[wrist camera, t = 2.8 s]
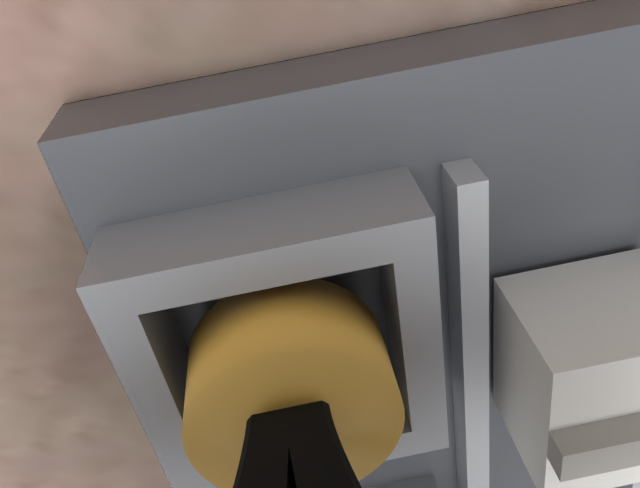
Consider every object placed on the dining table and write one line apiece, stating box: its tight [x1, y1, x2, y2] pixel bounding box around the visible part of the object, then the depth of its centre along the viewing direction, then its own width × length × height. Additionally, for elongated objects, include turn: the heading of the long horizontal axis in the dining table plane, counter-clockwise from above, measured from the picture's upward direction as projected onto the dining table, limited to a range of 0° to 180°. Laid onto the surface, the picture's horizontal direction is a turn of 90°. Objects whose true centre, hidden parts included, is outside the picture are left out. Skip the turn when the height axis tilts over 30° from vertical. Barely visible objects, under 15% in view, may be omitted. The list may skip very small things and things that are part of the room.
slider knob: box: [493, 248, 640, 488], centre depth 13 cm, size 4×3×4 cm
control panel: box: [37, 0, 640, 488], centre depth 16 cm, size 20×14×4 cm
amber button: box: [182, 279, 405, 488], centre depth 12 cm, size 4×4×2 cm
